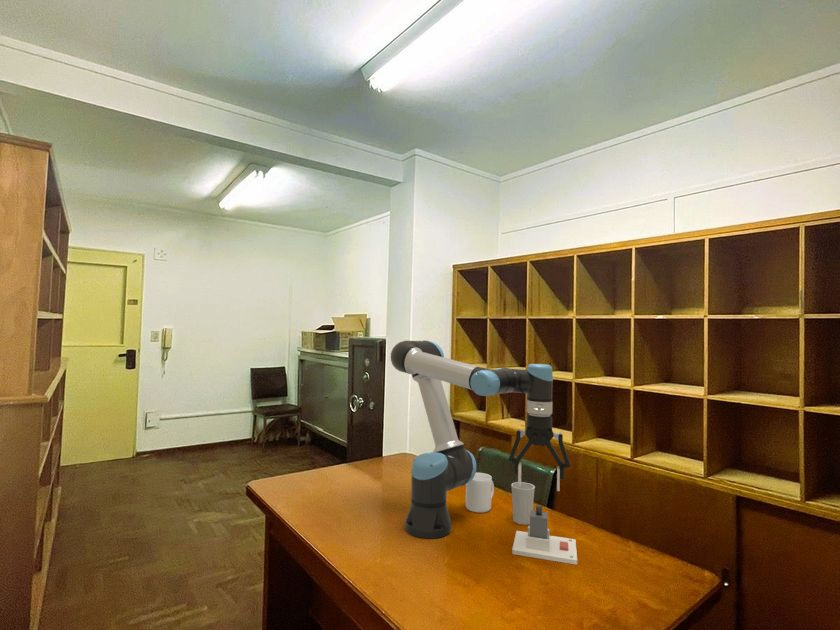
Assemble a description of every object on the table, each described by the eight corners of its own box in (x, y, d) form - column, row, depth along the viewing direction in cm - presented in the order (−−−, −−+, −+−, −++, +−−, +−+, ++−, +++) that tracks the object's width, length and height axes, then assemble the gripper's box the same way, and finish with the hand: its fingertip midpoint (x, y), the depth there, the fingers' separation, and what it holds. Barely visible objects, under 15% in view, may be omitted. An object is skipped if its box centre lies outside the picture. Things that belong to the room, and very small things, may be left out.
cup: (534, 526, 151) (535, 490, 152) (510, 524, 153) (511, 488, 153) (533, 517, 159) (534, 483, 159) (510, 515, 160) (511, 481, 161)
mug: (460, 508, 166) (460, 476, 167) (478, 500, 175) (479, 469, 175) (481, 515, 160) (482, 482, 160) (499, 506, 168) (500, 475, 169)
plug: (529, 550, 134) (530, 508, 134) (530, 543, 139) (531, 502, 139) (546, 553, 132) (547, 510, 133) (547, 545, 137) (547, 504, 138)
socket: (512, 554, 131) (512, 539, 131) (516, 534, 145) (516, 521, 145) (577, 564, 126) (577, 549, 126) (575, 543, 139) (575, 529, 139)
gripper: (500, 413, 138) (498, 486, 137) (580, 419, 131) (579, 496, 130) (502, 410, 145) (501, 479, 144) (579, 415, 138) (578, 488, 137)
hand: (538, 487), depth 137 cm, fingers open, 11 cm apart
